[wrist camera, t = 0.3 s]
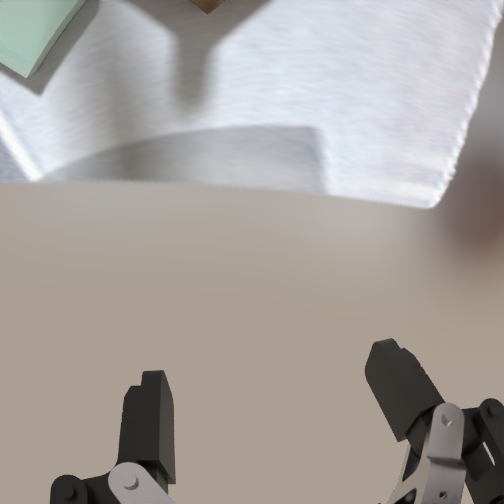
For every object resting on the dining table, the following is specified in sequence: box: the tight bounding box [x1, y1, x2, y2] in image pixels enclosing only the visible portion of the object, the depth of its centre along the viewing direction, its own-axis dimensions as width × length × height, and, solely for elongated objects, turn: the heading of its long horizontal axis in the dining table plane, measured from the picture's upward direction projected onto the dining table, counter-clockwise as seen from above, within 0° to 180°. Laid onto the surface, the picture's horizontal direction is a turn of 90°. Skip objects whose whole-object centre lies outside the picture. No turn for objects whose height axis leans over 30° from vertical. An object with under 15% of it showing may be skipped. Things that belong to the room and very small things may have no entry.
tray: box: [0, 0, 86, 79], centre depth 17 cm, size 12×12×3 cm
